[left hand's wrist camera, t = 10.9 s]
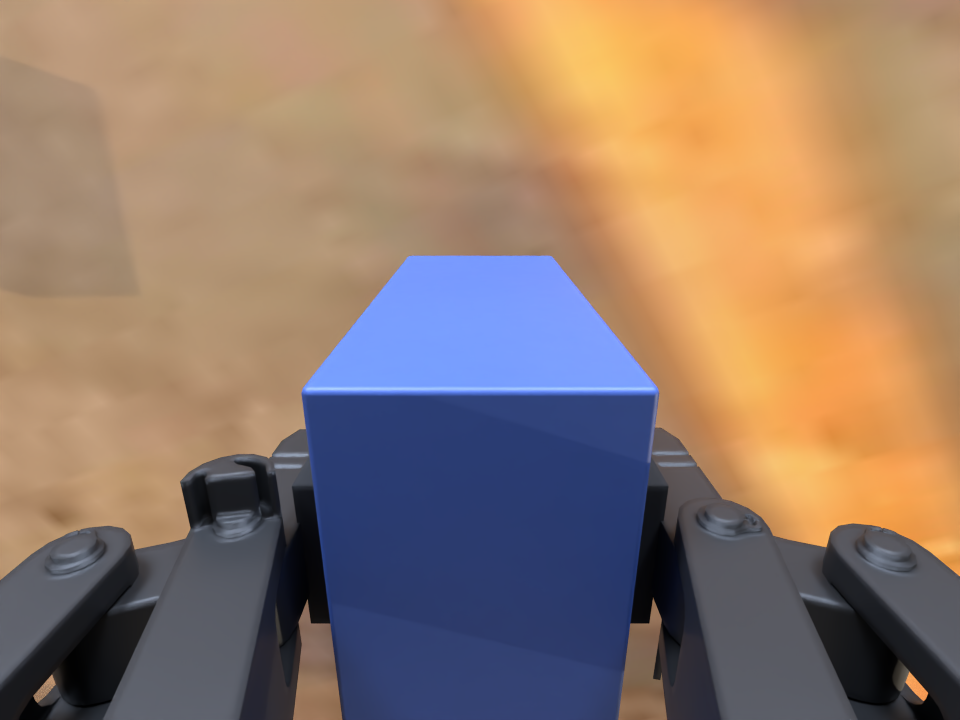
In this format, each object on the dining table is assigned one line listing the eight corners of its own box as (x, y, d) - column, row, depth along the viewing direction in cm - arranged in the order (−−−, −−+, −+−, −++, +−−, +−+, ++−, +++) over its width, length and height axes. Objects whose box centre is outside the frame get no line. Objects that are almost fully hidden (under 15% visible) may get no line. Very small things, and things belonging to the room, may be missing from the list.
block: (417, 463, 18) (348, 786, 9) (407, 255, 15) (297, 388, 6) (543, 463, 18) (611, 786, 9) (553, 255, 15) (662, 388, 6)
